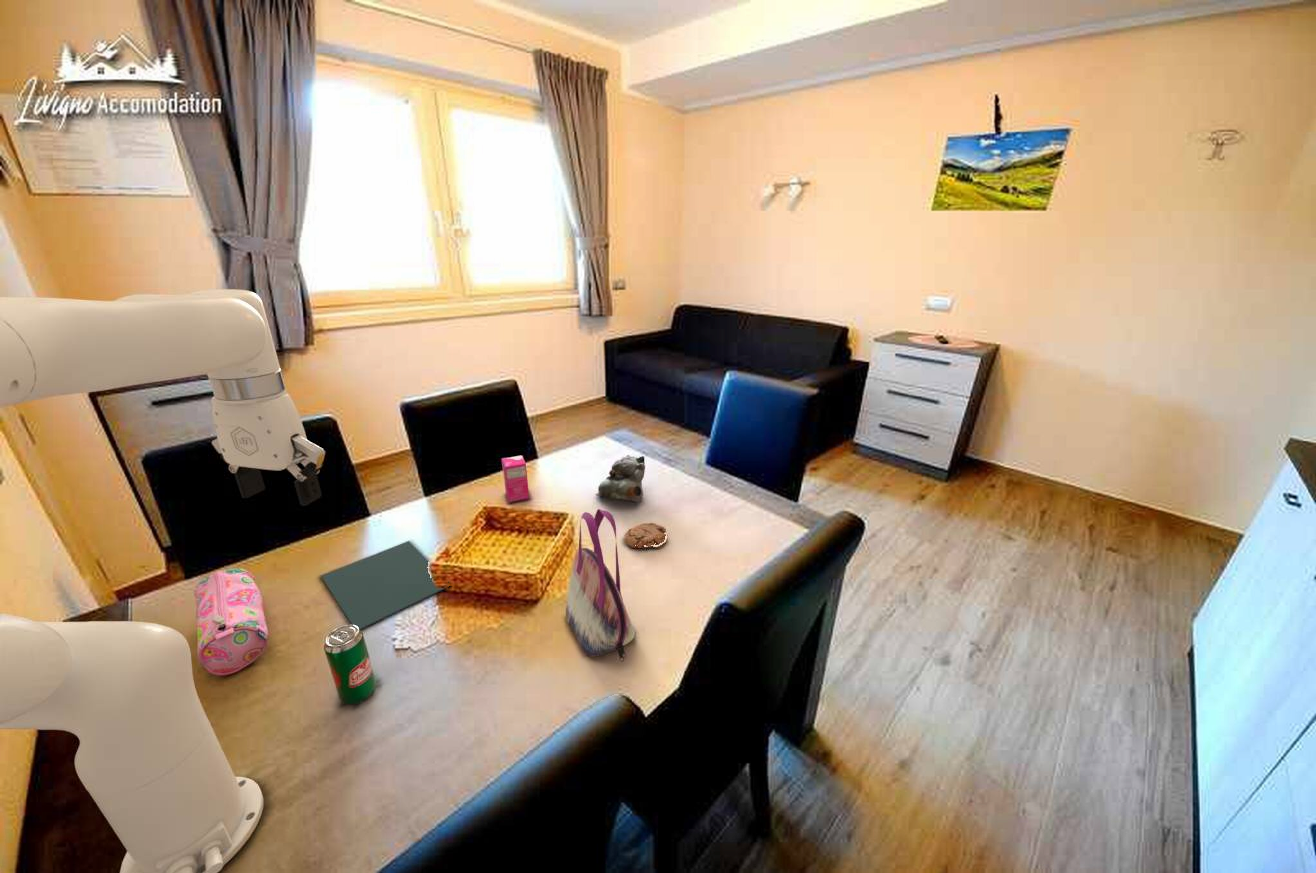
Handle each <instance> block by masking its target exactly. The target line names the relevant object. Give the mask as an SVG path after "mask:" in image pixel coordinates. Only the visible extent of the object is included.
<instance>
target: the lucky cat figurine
mask: <svg viewBox="0 0 1316 873" xmlns="http://www.w3.org/2000/svg"><path fill="white" fill-rule="evenodd" d="M645 472H646V463H645V456H644V455H642V456H638V457H636V456H634V455H630V454H629V455H628V454H627V455H626V456H623V457H621V458H620V459H617V460H615V462H614V463H613V464H612V466H611V469H610V470H609V471H608V475H609V476H607V477H606V478H605V479H603V481H602V482H601V483H600V484H599V485H598V487H597V489H598V492H597V493H595V494H594V495H595V496H596V497H599V498H600V497H603V498H607V499H618V500H625V501H632V502H639V503H641V502H642V499H643V497H642V495H643V496H644V490H643V484H642V483H643V479H644V478H645Z"/></svg>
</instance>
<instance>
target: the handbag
mask: <svg viewBox="0 0 1316 873" xmlns="http://www.w3.org/2000/svg"><path fill="white" fill-rule="evenodd" d="M595 512H596V513H595V515H594V516H593V515H592V514H591V513H590V512H587V511H585V512H583V513H582V515H581V518H580V522H579V534H578V535H579V537H578V549H577V550H576V552H575V554H574V556H573V561H572V566H571V571H570V578H569V582H568V583H569V584H568V591H567V598H566V603H565V604H566V606H565V616H566V621H567V623H568V625H569V627H570V629H571V630H572V633H573V634H574V636H575V638H576V640H577V642H578V643H579V646H580V648H581V649H582V651H583V653H584V654H585V655H586V656H587V657H598V656H603V655H605V654H608V653H611V652H614V651H617V652H618V656H619V660H620V662H621V663H623V662H625V659H626V658H627V654H626V652H625V648H624V646H625V645H627V644H629V643H631V642H632V641H633V640H634V639H635V637H636V633H635V628H634V626H633V623H632V621H631V618H630V617H629V614H628V611H627V609H626V605H625V603H624V600H623V596H622V591H621V576H620V566H619V554H618V553H619V552H618V544H617V542H615V579H614V578H613V576H612V574H611V571H610V570H609V568H608V567H607V566H606V564H605V562H604V555H603V551H602V547H601V542H600V537H599V529H600V526H601V524H602V522H603V520H604V518H606V520H607V521H608V522H609V523H610V525H611V527H612V529H613V533H614V538H615V539H617V527H616V521H615V519H614V517H613V515H612V514H611V512H609V511H608V510H605V509H604V510H603V509H600V508H597V510H596V511H595ZM582 519H583V520H584V521H585V523H586V525H587V529H588V532H589V537H590V539H591V542H592V545H593V550H592V549H590V548H589V547H582V546H583V545H582V526H581V525H582Z"/></svg>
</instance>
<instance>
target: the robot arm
mask: <svg viewBox="0 0 1316 873" xmlns="http://www.w3.org/2000/svg"><path fill="white" fill-rule="evenodd" d="M203 375H207V377H208V381H209V384H210V387H211V390H212V393H213V396H212V397H211V408H212V409H211V410H212V419H213V424H214V429H215V433H216V438H215V439H213V440H212V441H211V445H212V446H213V448H214V449H215V451H216V452H217V453H218V454H219V455H220V459H221V460H222V461H223V462H224V463H225V464H227V465H228V470H229V472H230V473H231V474H234V478H235V481H236V483H237V486H238V490H239V492H240V496H241V498H243V499H248V498H251V497H253V496H254V495H257V494H258V493H261V492H263V491H264V490H265V489H266V484H265V482H264V479H263V476H262V473H261V470H266V471H279V472H280V471H282V470H285V469H286V470H287V471H288V472H289V473H291V475H292V476H293V477H294V478H295V479H296V480H294V481H293V482H294V483H293V484H294V488H295V491H296V494H297V498H298V501H299V505H300V506H302V507H303V506H304V507H306V506H308V505H310V504H311V503H313V502H315V501H316V500H318V499H320V498H321V497H322V490H321V486H320V482H319V479H318V474H319V473H320V470H321V469H322V467H323V466H324V459H325V457H326V456H325V455H326V450H324V448H322V447H320V446H319V445H317V444H315V443H313V442H311V441H310V440H308V438H307V435H306V430H305V428H304V425H303V422H302V420H301V417H300V415H299V412H298V409H297V408H296V405H295V403H294V401H293V399H292V396H290V393H289V392H287V388H286V385H285V384H286V383H285V381H284V377H283V374H282V370H281V366H280V362H279V358H278V355H277V351H276V347H275V342H274V340H273V335H272V332H271V329H270V324H269V321H268V317H267V314H266V310H265V306H264V304H263V301H262V299H261V298H260V296H259V295H258V294H257V293H256V292H253V291H250V290H247V289H235V288H234V289H233V288H226V289H225V288H223V289H222V288H221V289H203V290H196V291H193V292H190V293H187V294H159V293H158V294H157V293H154V294H153V293H144V294H143V293H141V294H139V293H138V294H130V295H125V296H123V297H119V298H116V299H115V300H93V299H92V300H91V299H77V298H76V299H75V298H61V297H41V296H40V297H39V296H37V297H36V296H34V297H33V296H31V297H30V296H25V297H24V296H0V408H6V407H9V406H14V405H19V404H24V403H29V402H33V401H38V400H39V401H40V400H43V399H48V398H53V397H60V396H66V395H67V396H68V395H69V396H70V395H77V394H84V393H85V394H86V393H93V392H94V393H95V392H101V391H109V390H113V389H119V388H124V387H131V386H137V385H143V384H150V383H157V382H164V381H170V380H178V379H186V378H191V377H198V376H203ZM299 464H301V465H302V466H303V468H302V469H301V468H300V467H299ZM0 730H40V731H50V730H51V731H54V730H55V731H65V732H68V733H71V734H73V735H75V736H76V738H78V740H79V746H78V748H77V751H76V753H75V756H74V768H75V772H76V774H77V776H78V778H79V780H80V782H81V783H82V785H83V786H84V788H85V790H86V791H87V792H88V793H89V795H90V797H91V798H92V799H93V802H95V804H96V805H97V807H98V809H99V810H100V812H101V813H102V815H103V816H104V818H105V819H106V820H107V822H108V824H109V825H110V827H111V828H112V830H113V832H114V833H115V835H116V836H117V838H118V839H119V841H120V843H122V845H123V847H124V848H125V849H126V853H125V855H124V857H123V860H122V861H121V866H120V870H119V873H219V872H220V871H222V870H223V867H224V866H225V865H226V864H227V863H228V862H229V861H231V859H233V857H235V855H236V854H237V853H238V852H239V851H240V850H241V849H242V848H243V847H244V845H245V844H246V842H247V841H248V840H249V839H250V838H251V836H252V835H253V832H254V831H255V829H256V828H257V826H258V823H259V821H260V820H261V817H262V813H263V810H264V795H263V792H262V789H261V788H260V786H259V784H258V783H257V782H255V780H253V779H251V778H248V777H245V776H235V773H234V772H233V769H232V768H231V765H230V763H229V761H228V759H227V756H226V755H225V752H224V750H223V749H222V748H223V747H222V746H221V744H220V742H219V740H218V737H217V735H216V733H215V731H214V728H213V727H212V724H211V722H210V720H209V719H208V716H207V714H206V712H205V710H204V708H203V705H202V703H201V700H200V697H199V695H198V692H197V689H196V685H195V681H194V675H193V665H192V654H191V648H190V645H189V643H188V640H187V638H186V637H185V636H184V635H183V634H182V633H181V632H180V631H178V630H176V629H175V628H172V627H170V626H167V625H164V624H160V623H156V622H155V623H154V622H146V621H133V620H132V621H131V620H127V621H126V620H121V621H119V620H118V621H116V620H115V621H113V620H112V621H111V620H106V621H105V620H104V621H103V620H97V621H96V620H91V621H36V620H33V619H31V618H28V617H24V616H18V615H14V614H8V613H0Z"/></svg>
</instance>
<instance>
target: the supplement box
mask: <svg viewBox="0 0 1316 873" xmlns="http://www.w3.org/2000/svg"><path fill="white" fill-rule="evenodd" d="M501 464H502V465H501V466H502V473H503V481H504V489H505V495H506V497H507V501H508V503H509V504H513V503H520V502H525V501H530V499H531V498H530V491H529V490H530V489H529V481H528V480H529V479H528V471H527V462H526V460H525V459H524V456H523V455H517V456H516V455H515V456H511V457H503V458H501Z"/></svg>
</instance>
